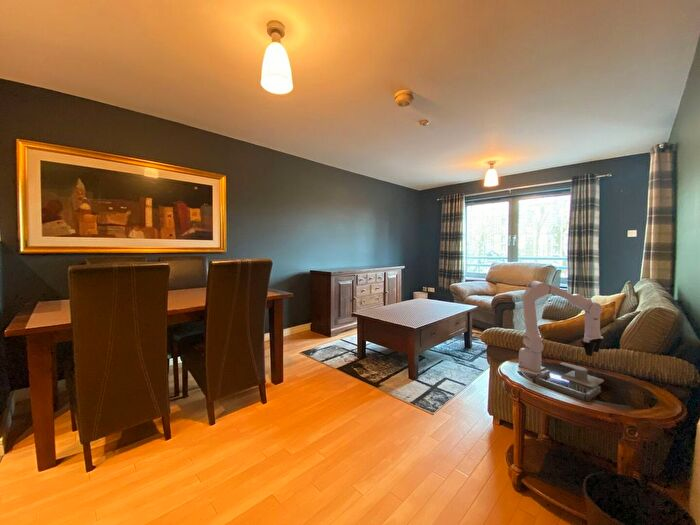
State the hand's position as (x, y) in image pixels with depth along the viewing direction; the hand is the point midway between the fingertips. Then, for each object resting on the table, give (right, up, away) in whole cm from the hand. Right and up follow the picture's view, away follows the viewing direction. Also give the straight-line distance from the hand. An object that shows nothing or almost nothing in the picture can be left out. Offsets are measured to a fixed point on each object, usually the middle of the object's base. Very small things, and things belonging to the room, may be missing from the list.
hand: (592, 353), depth 141 cm
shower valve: (-12, -10, -6) cm, 17 cm away
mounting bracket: (-23, -10, -14) cm, 29 cm away
